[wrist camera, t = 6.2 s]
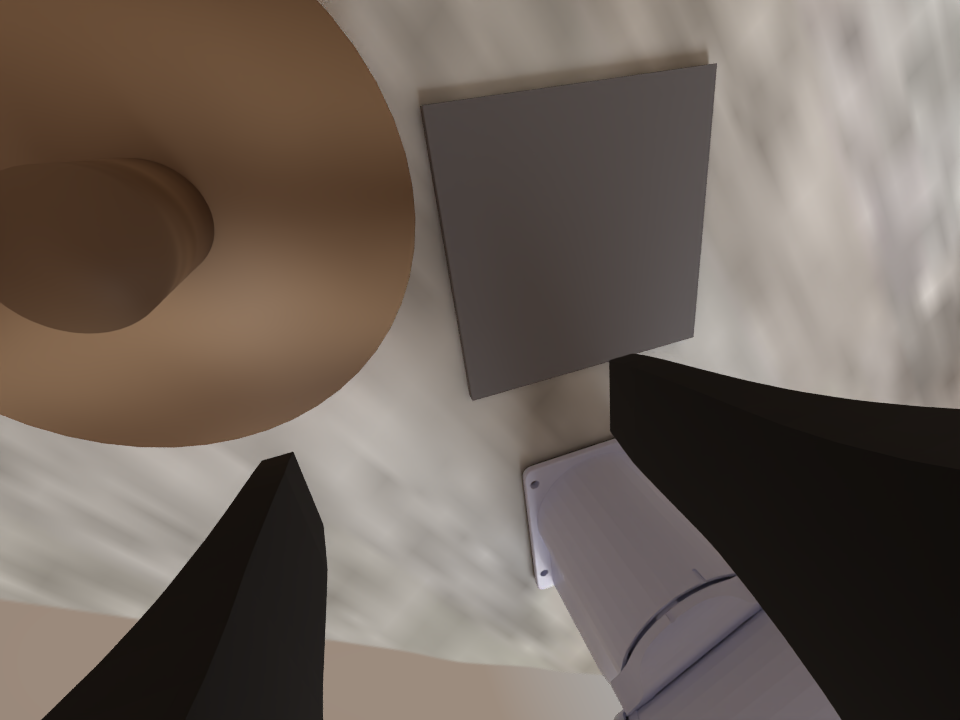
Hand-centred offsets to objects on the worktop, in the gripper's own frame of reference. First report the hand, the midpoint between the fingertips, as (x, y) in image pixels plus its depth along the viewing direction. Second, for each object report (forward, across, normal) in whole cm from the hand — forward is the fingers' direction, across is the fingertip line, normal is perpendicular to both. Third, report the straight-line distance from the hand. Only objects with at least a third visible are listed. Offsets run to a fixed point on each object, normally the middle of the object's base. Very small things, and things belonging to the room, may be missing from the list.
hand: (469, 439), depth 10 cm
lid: (+6, +6, -5) cm, 10 cm away
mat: (+10, -8, -1) cm, 13 cm away
